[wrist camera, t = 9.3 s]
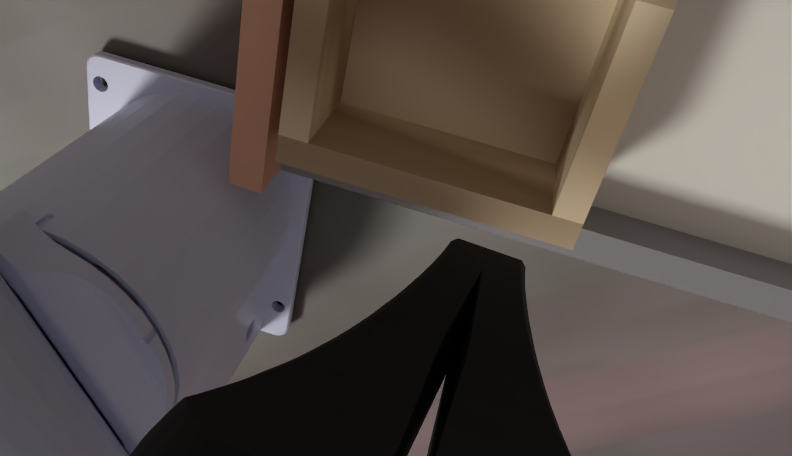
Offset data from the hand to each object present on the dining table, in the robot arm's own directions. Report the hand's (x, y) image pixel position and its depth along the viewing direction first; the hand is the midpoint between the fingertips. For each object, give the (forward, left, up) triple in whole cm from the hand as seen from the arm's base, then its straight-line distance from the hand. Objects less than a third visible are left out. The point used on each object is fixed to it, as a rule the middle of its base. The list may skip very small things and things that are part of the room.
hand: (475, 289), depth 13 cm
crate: (+2, +2, -8) cm, 9 cm away
